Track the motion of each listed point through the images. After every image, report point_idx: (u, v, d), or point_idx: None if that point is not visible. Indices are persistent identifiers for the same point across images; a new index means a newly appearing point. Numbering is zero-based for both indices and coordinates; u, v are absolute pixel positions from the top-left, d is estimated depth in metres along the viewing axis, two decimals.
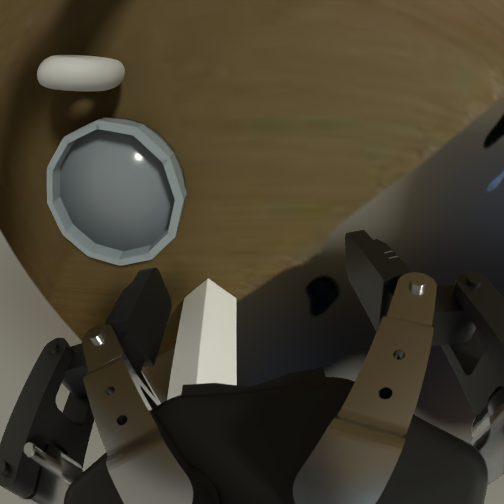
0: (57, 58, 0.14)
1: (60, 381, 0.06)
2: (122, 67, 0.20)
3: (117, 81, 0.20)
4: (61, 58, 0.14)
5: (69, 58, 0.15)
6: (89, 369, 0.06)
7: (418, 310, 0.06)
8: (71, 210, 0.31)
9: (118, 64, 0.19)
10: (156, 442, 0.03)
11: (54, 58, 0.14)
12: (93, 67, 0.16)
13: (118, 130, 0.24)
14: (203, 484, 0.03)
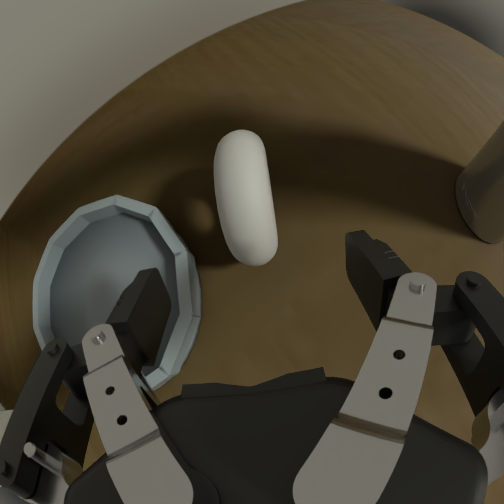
0: (261, 153, 0.16)
1: (60, 381, 0.06)
2: (270, 258, 0.19)
3: (247, 263, 0.18)
4: (263, 160, 0.16)
5: (265, 173, 0.16)
6: (89, 369, 0.06)
7: (418, 309, 0.06)
8: (77, 244, 0.25)
9: (273, 252, 0.18)
10: (156, 442, 0.03)
11: (260, 148, 0.16)
12: (260, 220, 0.16)
13: (180, 288, 0.20)
14: (203, 484, 0.03)
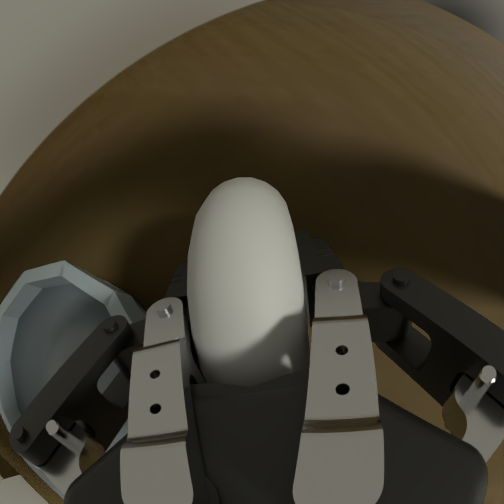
0: (292, 252, 0.07)
1: (109, 363, 0.07)
2: None
3: None
4: (296, 272, 0.07)
5: (301, 305, 0.07)
6: (144, 342, 0.07)
7: (344, 304, 0.07)
8: (31, 315, 0.16)
9: None
10: (156, 442, 0.03)
11: (289, 238, 0.08)
12: None
13: None
14: (203, 484, 0.03)
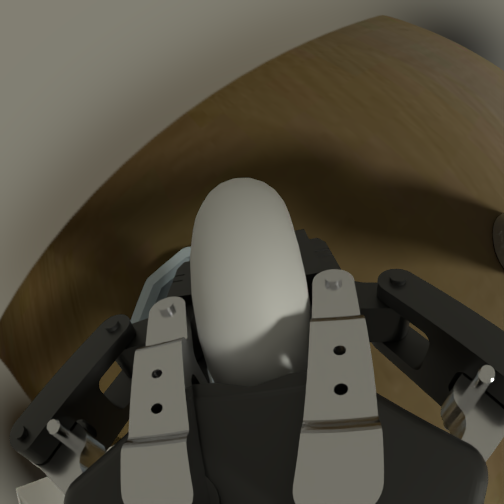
0: (295, 249, 0.07)
1: (110, 363, 0.07)
2: None
3: None
4: (300, 268, 0.07)
5: (307, 301, 0.07)
6: (147, 342, 0.07)
7: (341, 304, 0.07)
8: None
9: None
10: (156, 442, 0.03)
11: (291, 235, 0.08)
12: None
13: None
14: None
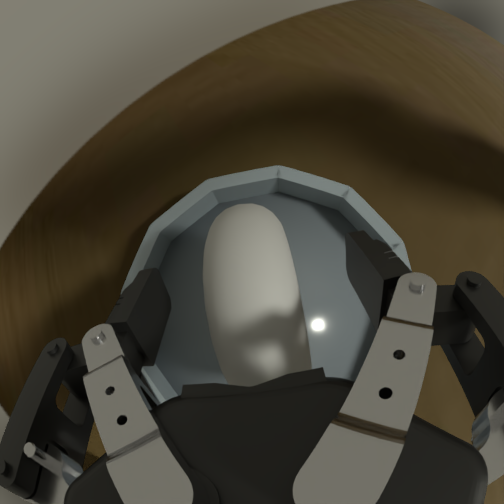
0: (289, 269, 0.09)
1: (60, 381, 0.06)
2: None
3: None
4: (294, 285, 0.09)
5: (300, 311, 0.09)
6: (89, 370, 0.06)
7: (418, 309, 0.06)
8: (198, 233, 0.20)
9: None
10: (156, 442, 0.03)
11: (286, 257, 0.09)
12: None
13: None
14: (203, 484, 0.03)
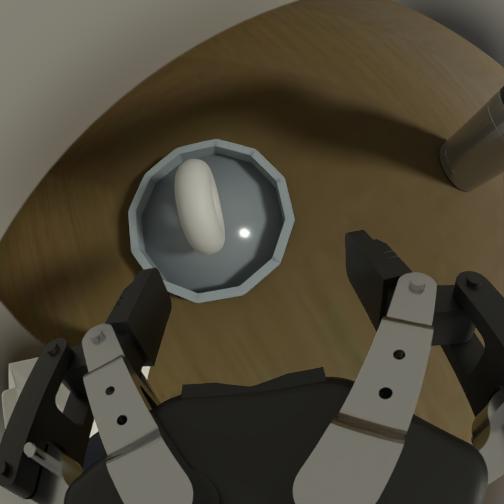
0: (206, 181, 0.23)
1: (60, 381, 0.06)
2: (220, 249, 0.27)
3: (204, 254, 0.26)
4: (207, 186, 0.23)
5: (210, 196, 0.23)
6: (89, 369, 0.06)
7: (418, 309, 0.06)
8: (171, 178, 0.33)
9: (221, 245, 0.27)
10: (156, 442, 0.03)
11: (205, 177, 0.23)
12: (209, 228, 0.23)
13: (283, 202, 0.30)
14: (203, 484, 0.03)
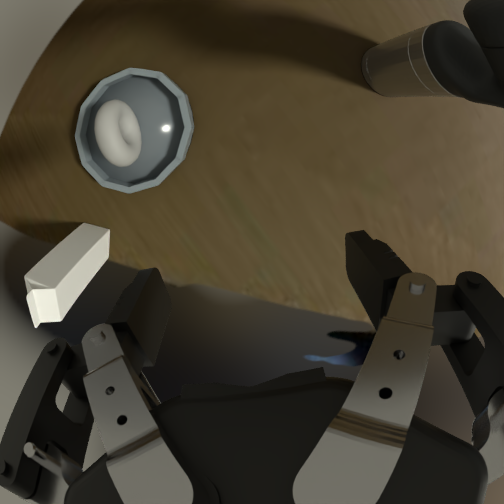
0: (113, 125, 0.27)
1: (60, 381, 0.06)
2: None
3: None
4: (114, 129, 0.27)
5: (117, 135, 0.28)
6: (89, 370, 0.06)
7: (417, 309, 0.06)
8: (102, 101, 0.33)
9: (135, 158, 0.33)
10: (156, 442, 0.03)
11: (113, 122, 0.27)
12: (120, 156, 0.30)
13: (183, 114, 0.33)
14: (203, 484, 0.03)
